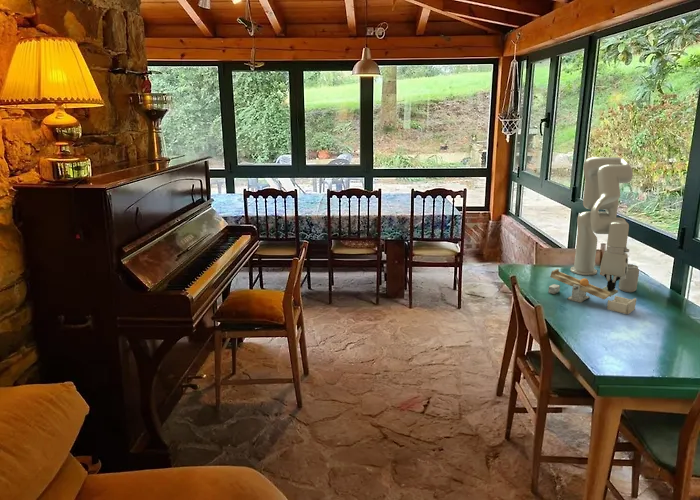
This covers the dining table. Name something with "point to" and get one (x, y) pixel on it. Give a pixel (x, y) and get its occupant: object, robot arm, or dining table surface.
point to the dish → (622, 305)
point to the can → (630, 279)
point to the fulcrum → (576, 292)
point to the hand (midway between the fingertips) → (610, 289)
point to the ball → (584, 282)
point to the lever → (589, 288)
